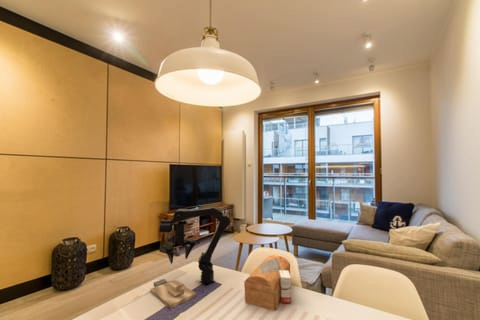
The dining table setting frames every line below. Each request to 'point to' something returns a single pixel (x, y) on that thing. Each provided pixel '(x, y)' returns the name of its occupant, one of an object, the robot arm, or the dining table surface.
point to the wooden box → (266, 283)
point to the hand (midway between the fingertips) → (179, 261)
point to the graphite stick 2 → (160, 283)
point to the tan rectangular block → (175, 288)
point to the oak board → (167, 298)
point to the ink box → (285, 286)
